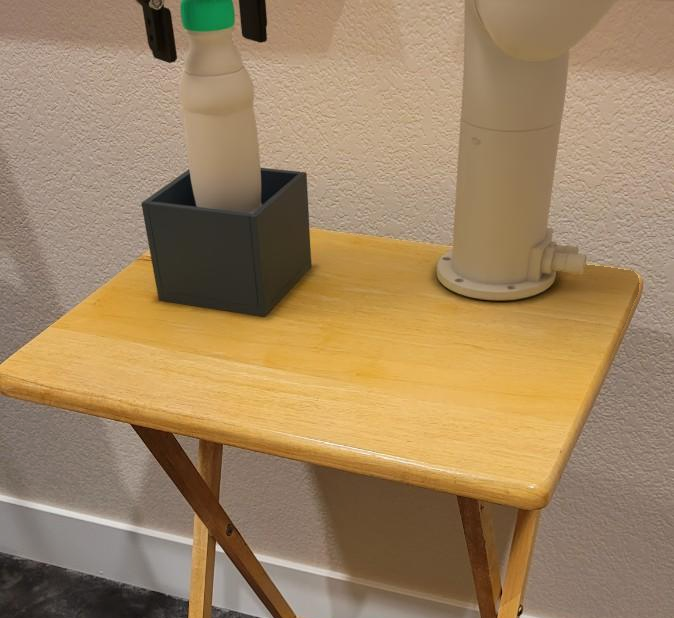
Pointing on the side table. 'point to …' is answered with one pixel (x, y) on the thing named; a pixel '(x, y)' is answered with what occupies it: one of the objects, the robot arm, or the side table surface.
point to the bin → (230, 245)
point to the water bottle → (218, 111)
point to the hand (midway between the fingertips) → (211, 49)
